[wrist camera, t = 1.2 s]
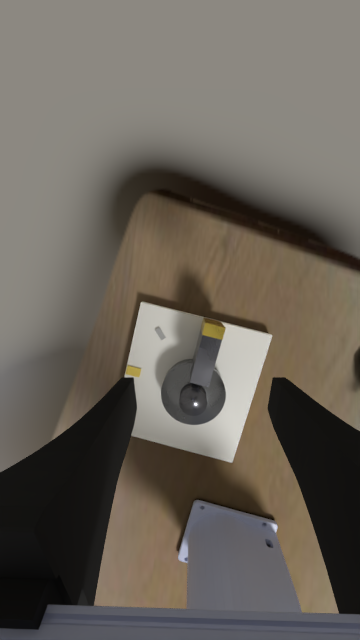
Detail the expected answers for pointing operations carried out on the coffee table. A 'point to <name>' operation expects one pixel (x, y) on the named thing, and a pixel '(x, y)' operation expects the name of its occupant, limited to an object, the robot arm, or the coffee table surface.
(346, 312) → the coffee table surface
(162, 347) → the dial plate
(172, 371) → the dial
